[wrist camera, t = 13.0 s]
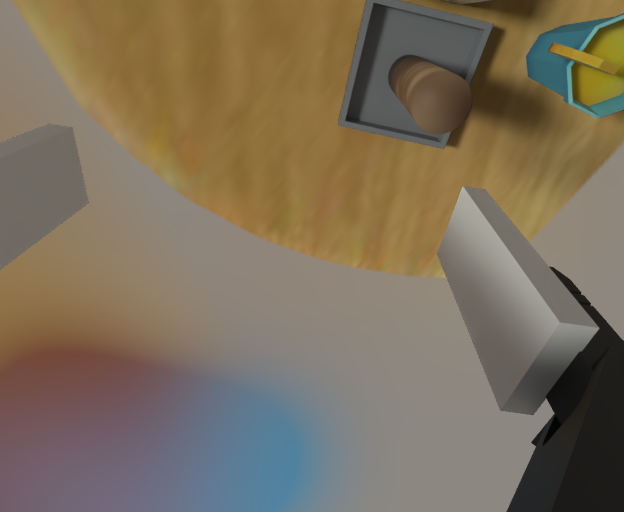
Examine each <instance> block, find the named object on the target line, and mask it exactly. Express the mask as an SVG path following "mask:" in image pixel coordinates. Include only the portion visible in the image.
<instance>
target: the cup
mask: <svg viewBox="0 0 624 512" xmlns="http://www.w3.org/2000/svg"><path fill="white" fill-rule="evenodd" d="M526 59H527V69H528V77H530V78H532V79H534V80H535V81H537V82H539V83H541V84H543V85H544V86H546V87H548V88H550V89H551V90H553V91H555V92H557V93H558V94H560V95H562V96H564V101H565V102H567V103H568V104H570V105H572V106H574V107H576V108H577V109H579V110H581V111H583V112H585V113H587V114H589V115H591V116H593V117H595V118H597V119H598V118H601V117H604V116H607V115H610V114H613V113H616V112H619V111H621V110H624V13H623V14H621V15H618V16H616V17H610V18H605V19H599V20H593V21H587V22H581V23H575V24H569V25H563V26H560V27H558V28H555V29H553V30H551V31H548V32H546V33H543V34H541V35H540V36H539V37H538V39H537V40H536V42H535V43H534V45H533V46H532V48H531V49H530V51H529V53H528V54H527V56H526Z"/></svg>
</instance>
